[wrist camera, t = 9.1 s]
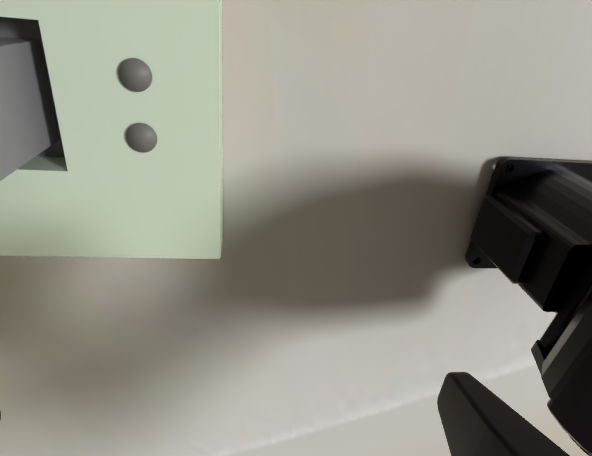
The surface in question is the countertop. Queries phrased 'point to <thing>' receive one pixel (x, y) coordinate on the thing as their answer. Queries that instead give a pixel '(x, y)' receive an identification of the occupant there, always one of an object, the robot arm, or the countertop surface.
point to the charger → (23, 104)
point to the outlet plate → (122, 131)
